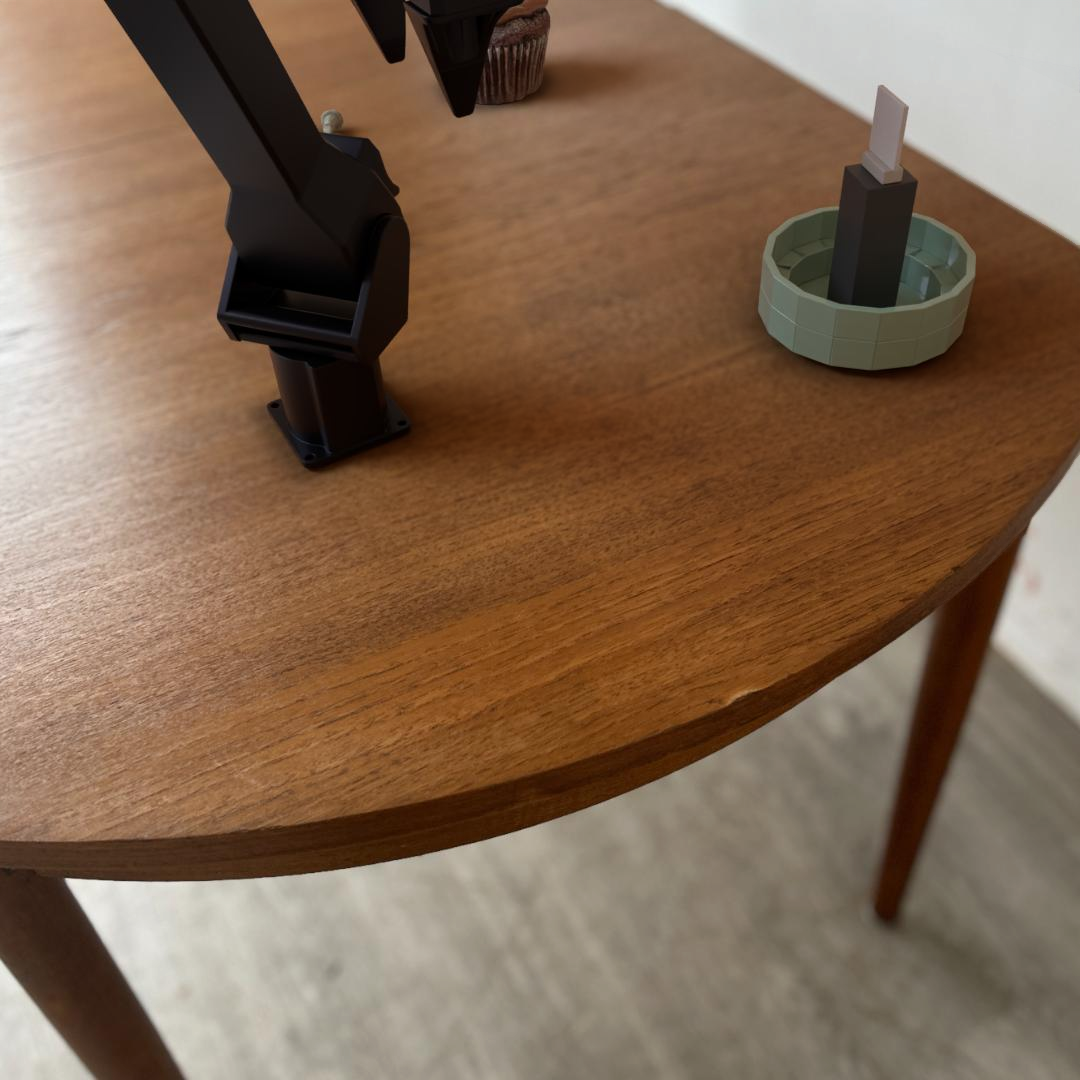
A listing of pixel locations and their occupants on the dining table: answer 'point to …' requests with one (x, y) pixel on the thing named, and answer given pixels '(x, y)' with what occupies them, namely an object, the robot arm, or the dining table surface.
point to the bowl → (856, 331)
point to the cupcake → (516, 54)
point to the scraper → (874, 214)
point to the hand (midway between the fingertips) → (428, 87)
